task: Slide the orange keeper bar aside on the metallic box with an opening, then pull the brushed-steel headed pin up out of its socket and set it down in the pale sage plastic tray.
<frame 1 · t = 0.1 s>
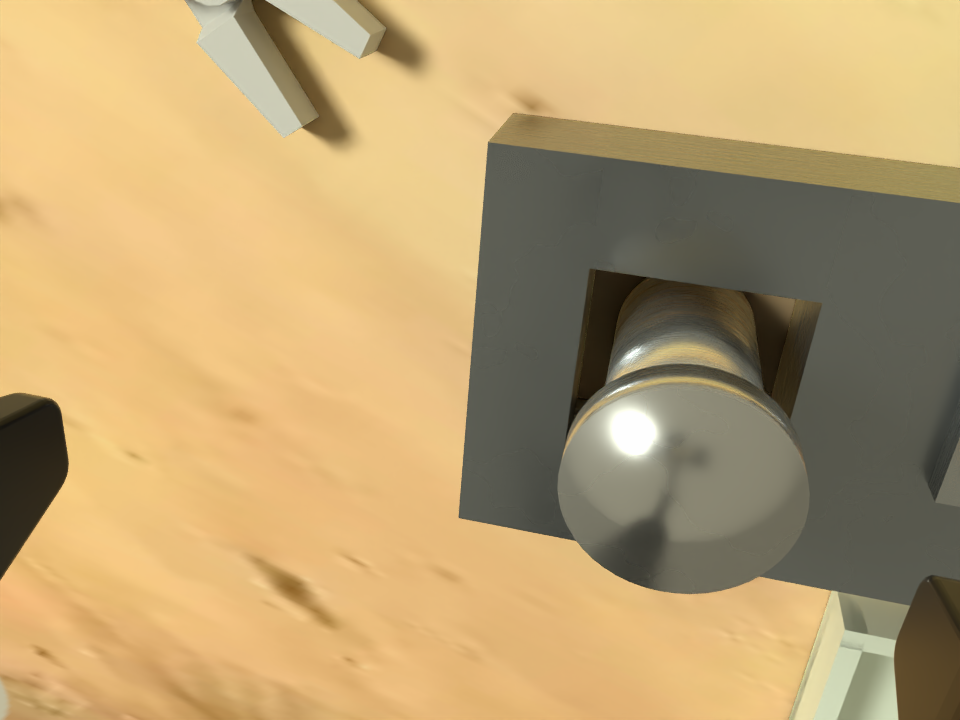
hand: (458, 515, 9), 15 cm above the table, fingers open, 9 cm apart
pin: (684, 330, 24), resting in metallic box with opening
metallic box with opening: (684, 331, 23), on the table
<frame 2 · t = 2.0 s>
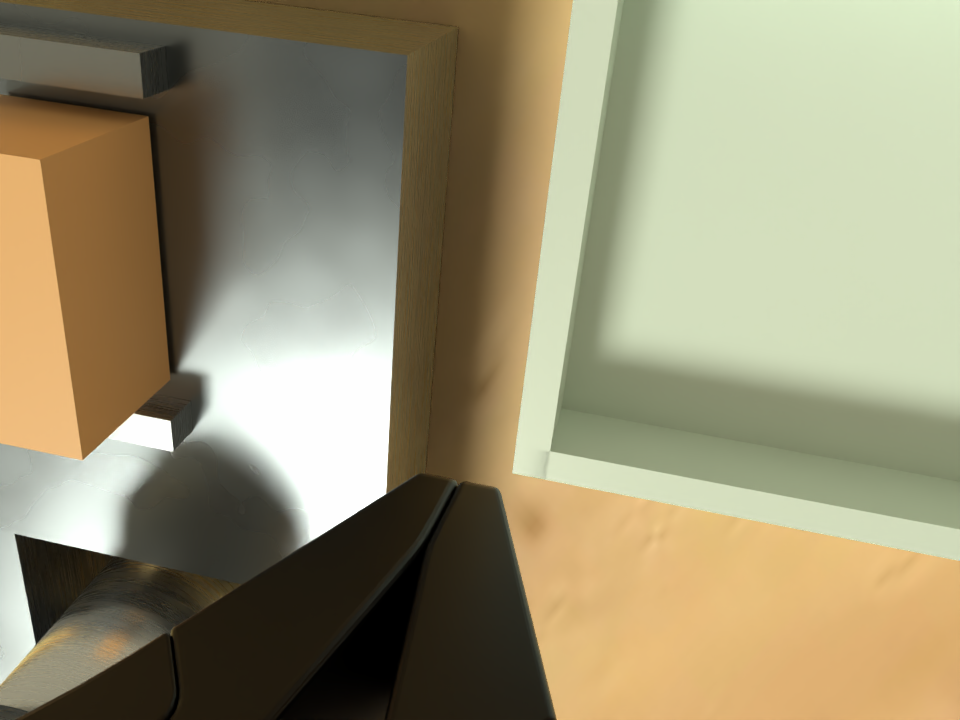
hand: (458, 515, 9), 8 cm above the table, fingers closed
pin: (210, 560, 21), resting in metallic box with opening
metallic box with opening: (210, 560, 21), on the table
keeper: (40, 274, 13), point 4 cm above the table, slide at 0.0 cm
tray: (861, 239, 15), on the table
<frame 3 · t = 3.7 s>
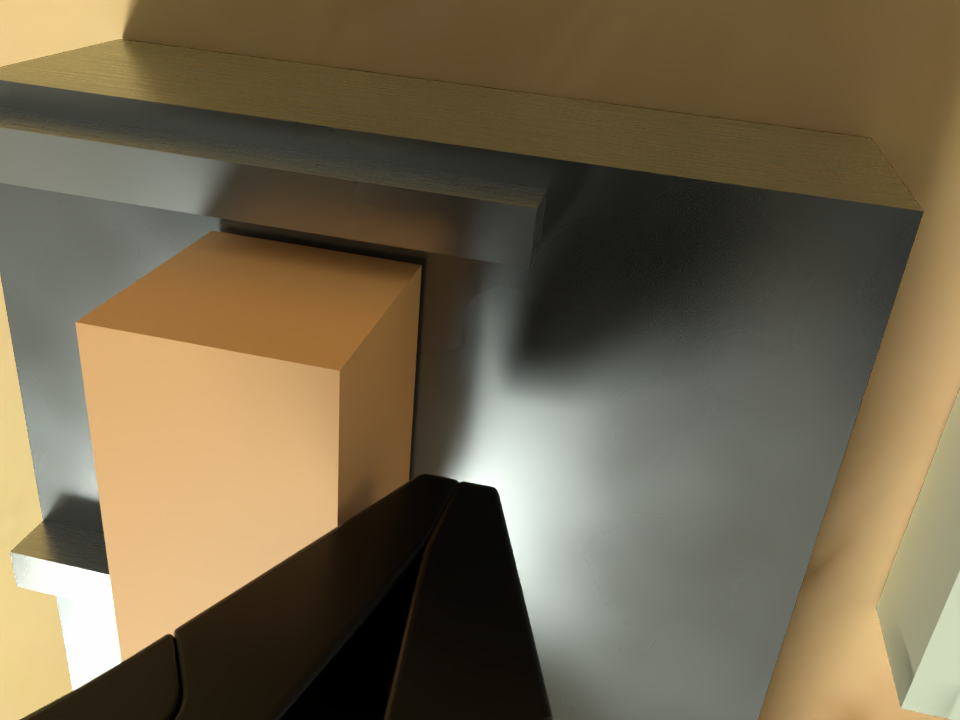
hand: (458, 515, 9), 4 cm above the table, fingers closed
keeper: (271, 478, 10), point 4 cm above the table, slide at 0.9 cm, touching gripper
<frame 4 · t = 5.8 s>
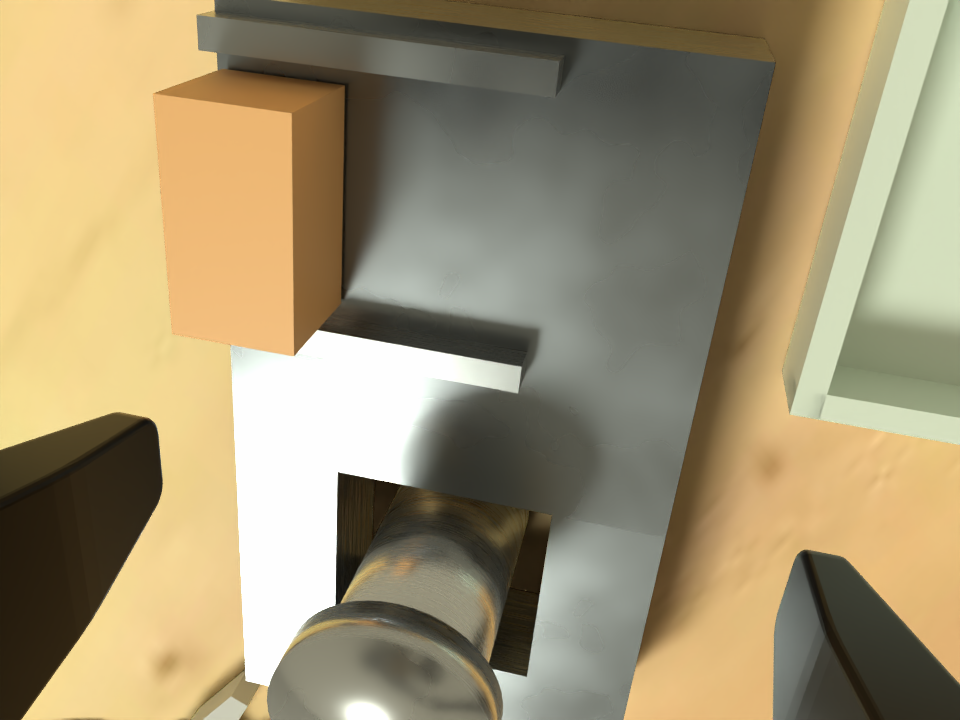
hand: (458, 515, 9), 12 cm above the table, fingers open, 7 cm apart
pin: (464, 504, 24), resting in metallic box with opening
metallic box with opening: (463, 504, 24), on the table
keeper: (257, 210, 17), point 4 cm above the table, slide at 3.6 cm
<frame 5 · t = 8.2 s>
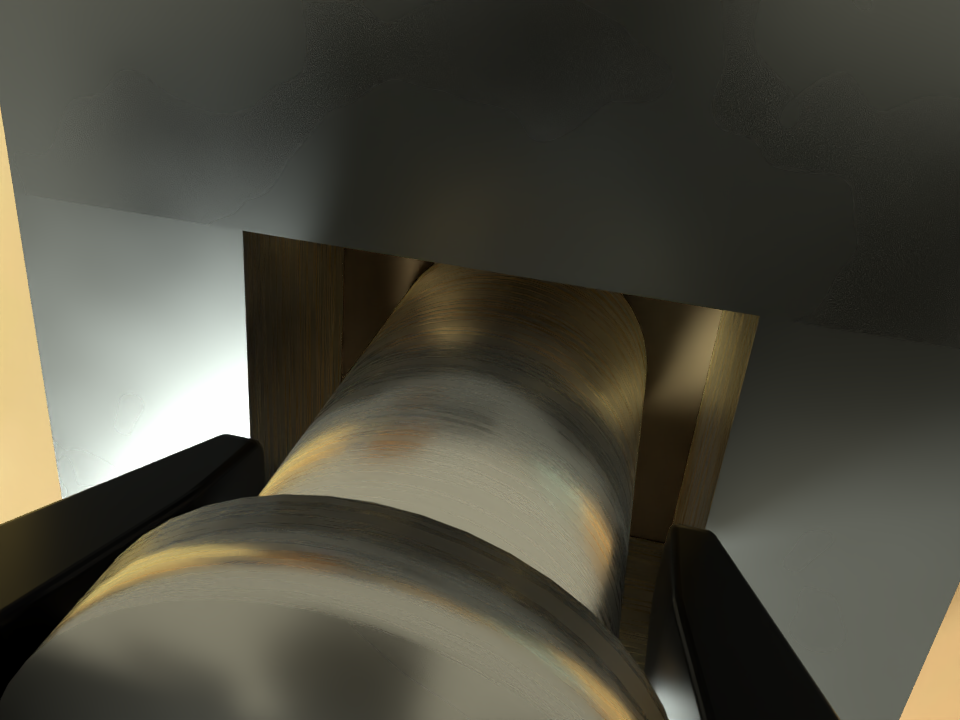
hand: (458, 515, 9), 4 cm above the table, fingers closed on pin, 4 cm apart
pin: (516, 361, 12), resting in metallic box with opening, touching gripper
metallic box with opening: (517, 362, 12), on the table
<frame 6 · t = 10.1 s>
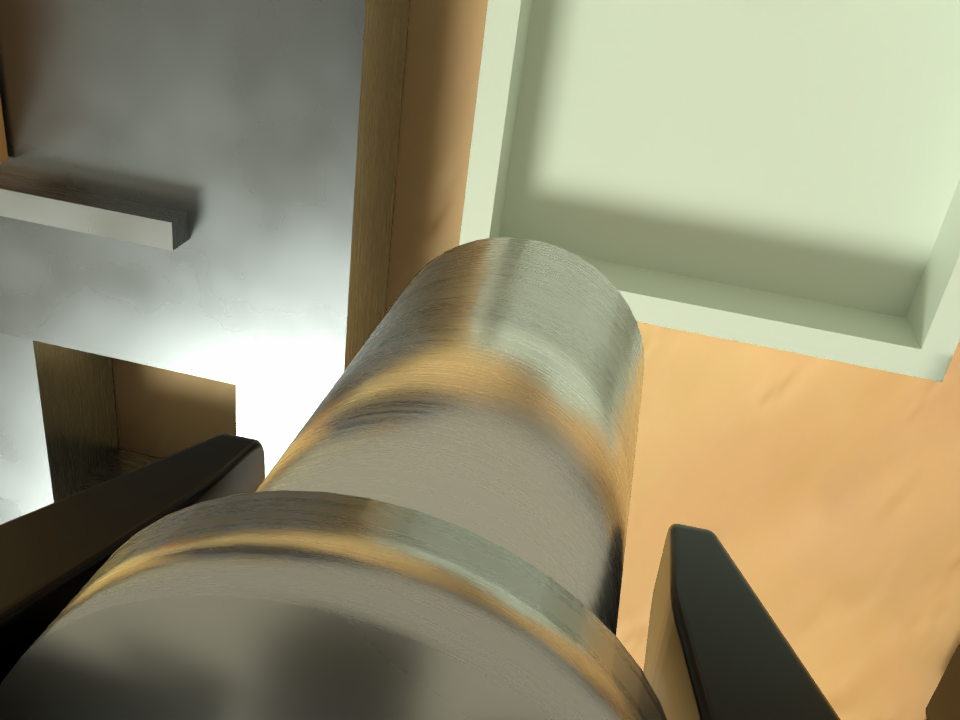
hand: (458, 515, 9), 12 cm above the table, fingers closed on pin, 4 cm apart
pin: (513, 359, 12), point 9 cm above the table, touching gripper
metallic box with opening: (198, 392, 24), on the table
tray: (742, 91, 18), on the table
when the fingers open (5 cm above the table, at t = 12.0 s): pin stays where it is, resting on tray.
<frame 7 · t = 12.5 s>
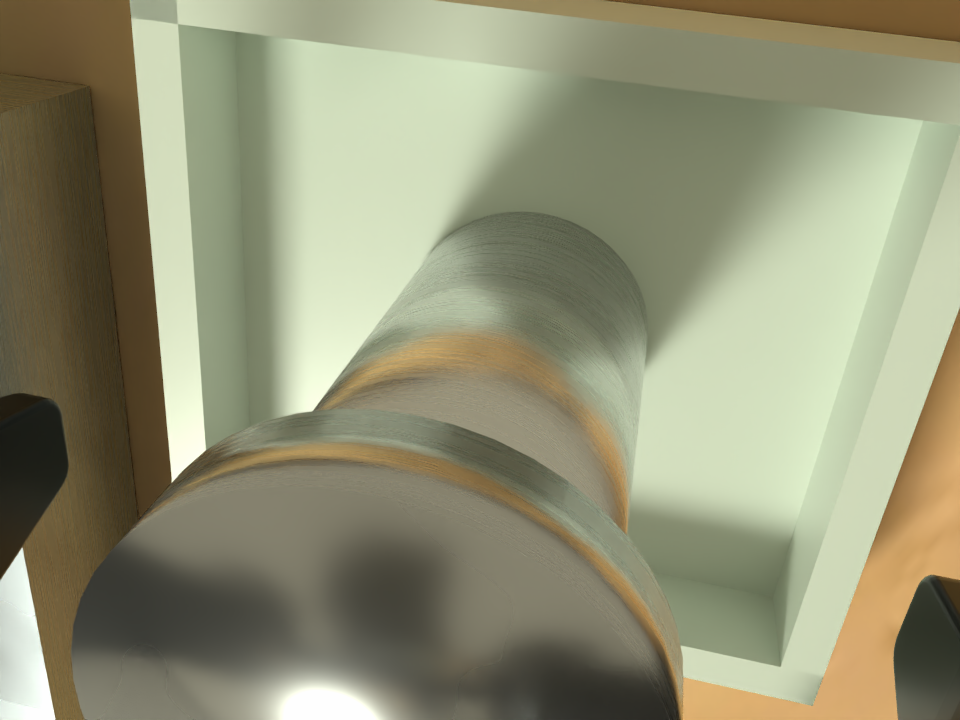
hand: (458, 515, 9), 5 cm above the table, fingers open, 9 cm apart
pin: (525, 327, 13), point 1 cm above the table, touching tray
tray: (533, 316, 14), on the table
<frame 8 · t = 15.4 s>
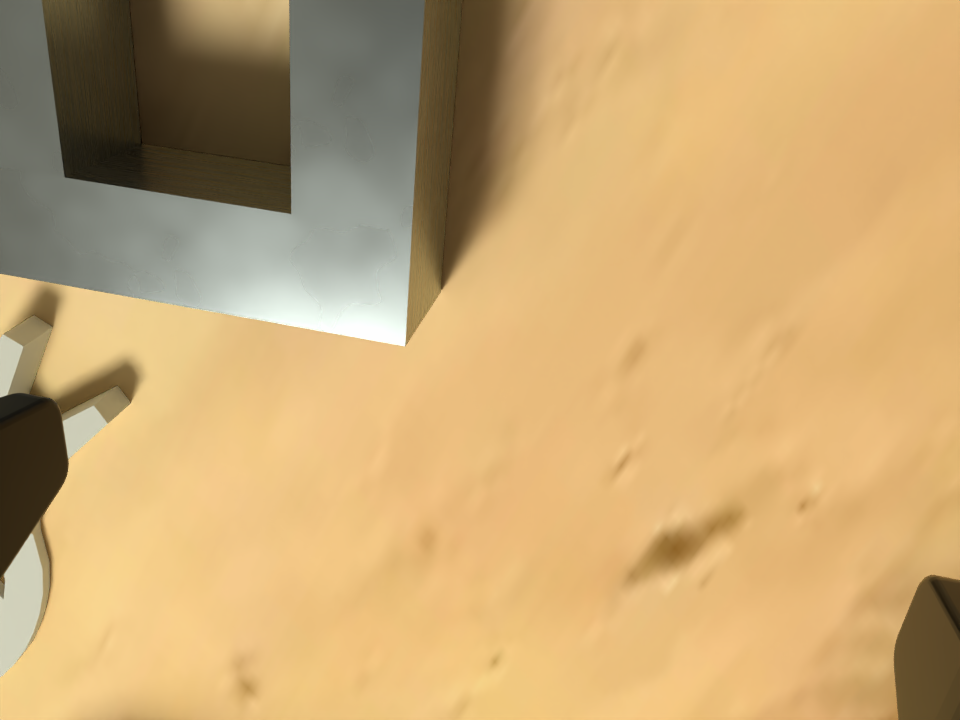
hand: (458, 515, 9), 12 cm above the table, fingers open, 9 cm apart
metallic box with opening: (236, 47, 20), on the table
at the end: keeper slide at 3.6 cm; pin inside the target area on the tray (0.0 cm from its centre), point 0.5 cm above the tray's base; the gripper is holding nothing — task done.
